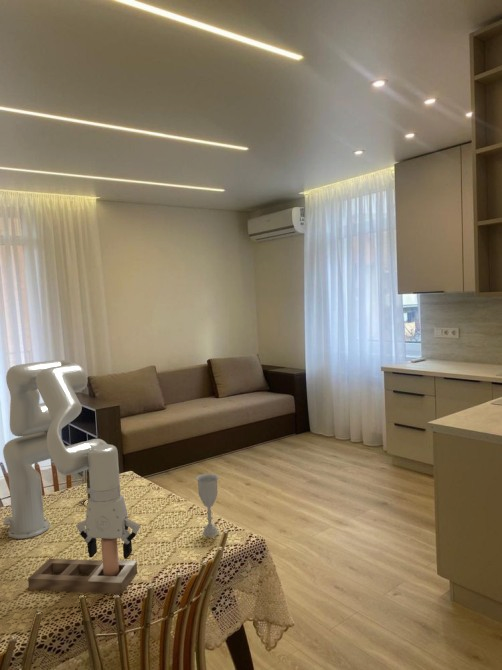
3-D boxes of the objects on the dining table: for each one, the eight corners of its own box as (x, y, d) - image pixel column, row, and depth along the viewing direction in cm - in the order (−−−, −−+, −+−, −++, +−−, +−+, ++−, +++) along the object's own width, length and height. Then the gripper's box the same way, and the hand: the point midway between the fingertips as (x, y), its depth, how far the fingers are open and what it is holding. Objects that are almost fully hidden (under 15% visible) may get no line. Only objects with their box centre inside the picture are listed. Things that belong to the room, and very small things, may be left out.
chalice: (194, 533, 156) (191, 478, 155) (210, 526, 161) (207, 472, 160) (210, 540, 151) (206, 483, 150) (226, 532, 156) (223, 476, 155)
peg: (101, 586, 130) (98, 542, 129) (108, 577, 134) (105, 534, 133) (116, 586, 129) (112, 542, 128) (122, 578, 133) (119, 535, 132)
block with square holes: (28, 589, 130) (27, 577, 130) (50, 568, 140) (49, 557, 140) (122, 594, 126) (121, 581, 125) (137, 572, 136) (136, 560, 135)
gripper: (67, 498, 127) (72, 561, 129) (131, 499, 125) (135, 564, 126) (82, 486, 135) (86, 547, 136) (142, 487, 132) (146, 549, 133)
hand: (110, 555), depth 131 cm, fingers open, 9 cm apart
